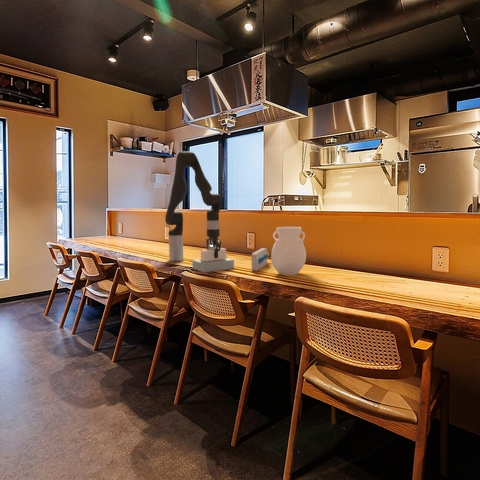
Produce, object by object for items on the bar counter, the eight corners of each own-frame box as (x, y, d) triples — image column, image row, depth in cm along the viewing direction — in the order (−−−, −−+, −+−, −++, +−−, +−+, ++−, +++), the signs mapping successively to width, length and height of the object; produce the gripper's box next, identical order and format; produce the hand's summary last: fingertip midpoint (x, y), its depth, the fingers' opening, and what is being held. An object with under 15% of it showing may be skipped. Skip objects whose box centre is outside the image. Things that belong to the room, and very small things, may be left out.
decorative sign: (258, 271, 192) (257, 254, 191) (251, 271, 193) (251, 253, 192) (270, 261, 222) (270, 246, 221) (264, 261, 224) (264, 246, 222)
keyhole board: (192, 268, 203) (192, 260, 202) (221, 264, 214) (221, 256, 213) (203, 272, 191) (203, 263, 191) (233, 268, 202) (233, 259, 202)
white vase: (308, 271, 191) (308, 226, 188) (303, 278, 173) (303, 228, 171) (275, 269, 197) (275, 225, 194) (267, 276, 180) (267, 228, 177)
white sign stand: (201, 267, 200) (200, 249, 199) (222, 264, 207) (221, 247, 206) (205, 268, 196) (204, 250, 194) (226, 265, 203) (226, 248, 202)
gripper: (201, 228, 203) (202, 256, 205) (213, 229, 191) (214, 259, 193) (212, 227, 207) (213, 255, 209) (225, 228, 195) (225, 258, 197)
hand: (213, 257), depth 201 cm, fingers closed on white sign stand, 5 cm apart
